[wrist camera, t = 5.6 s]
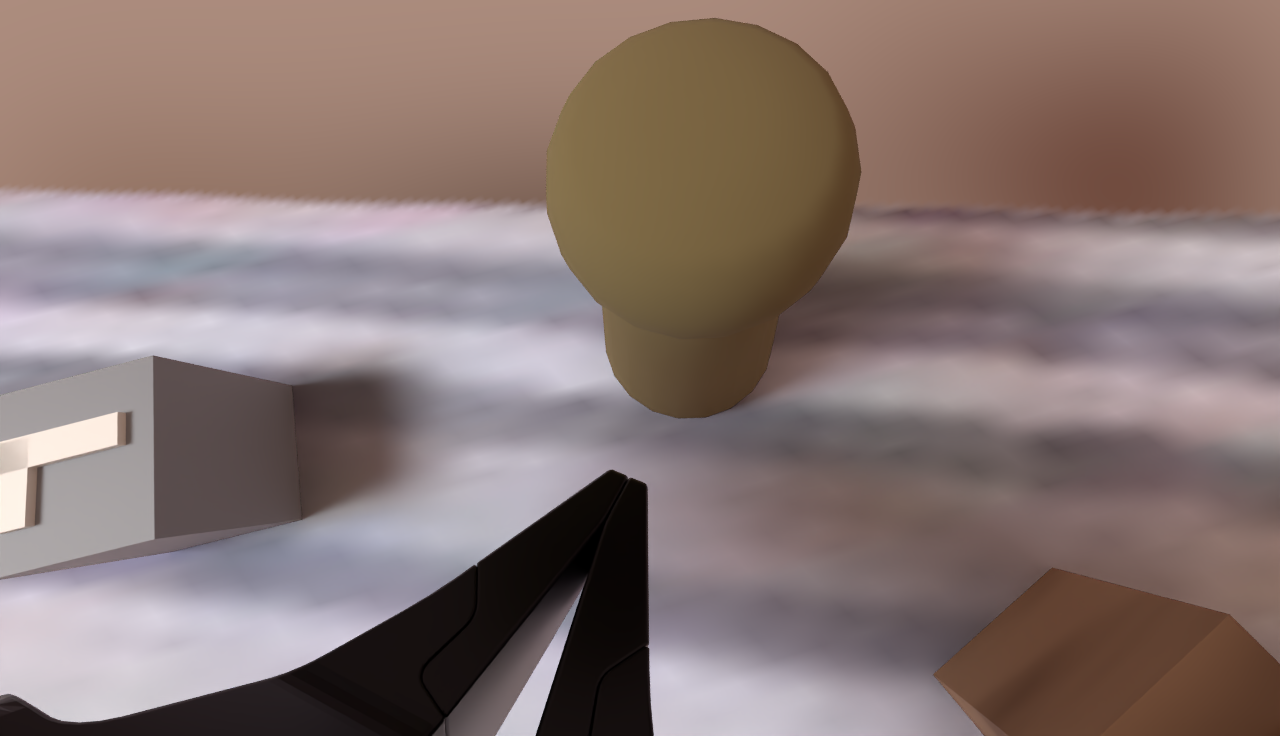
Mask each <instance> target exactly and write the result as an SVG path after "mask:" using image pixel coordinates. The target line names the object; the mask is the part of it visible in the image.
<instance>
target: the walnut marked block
mask: <svg viewBox="0 0 1280 736" xmlns="http://www.w3.org/2000/svg"><path fill="white" fill-rule="evenodd" d="M933 675H934V676H935V677H936V679H937V680H938V681H939V682H940V683H941V685H942V686H943V687H944V688H945V689H946V690H947V692H948V693H949V694H950V695H951V696H952V698H953V699H954V700H955V701H956V702H957V704H958V705H959V706H960V707H961V708H962V710H963V711H964V712H965V713H966V714H967V716H968V717H969V718H970V719H971V720H972V721H973V723H974V724H975V725H976V726H977V727H978V729H979V730H980V731H981V732H982V733H983V735H984V736H1280V664H1279V663H1278V662H1277V661H1276V660H1275V659H1274V658H1273V657H1272V656H1271V655H1270V654H1269V653H1268V652H1267V651H1266V650H1265V649H1264V648H1263V647H1262V646H1261V645H1260V644H1259V643H1258V642H1257V641H1256V640H1255V639H1254V638H1253V637H1252V636H1251V635H1250V634H1249V633H1248V632H1247V631H1246V630H1245V629H1244V628H1243V627H1242V626H1241V625H1240V624H1239V623H1238V622H1237V621H1236V620H1235V619H1234V618H1233V617H1232V616H1230V615H1229V614H1226V613H1222V612H1218V611H1214V610H1211V609H1207V608H1203V607H1199V606H1195V605H1192V604H1188V603H1184V602H1180V601H1176V600H1173V599H1169V598H1165V597H1161V596H1158V595H1154V594H1150V593H1146V592H1142V591H1139V590H1135V589H1131V588H1127V587H1123V586H1120V585H1116V584H1112V583H1108V582H1104V581H1101V580H1097V579H1093V578H1089V577H1086V576H1082V575H1078V574H1074V573H1070V572H1067V571H1063V570H1059V569H1055V568H1051V569H1050V570H1049V571H1048V572H1047V573H1046V574H1045V575H1043V576H1042V577H1041V578H1040V579H1039V580H1038V581H1037V582H1036V583H1035V584H1033V585H1032V586H1031V587H1030V588H1029V589H1028V590H1027V591H1026V592H1024V593H1023V594H1022V595H1021V596H1020V597H1019V598H1018V599H1017V600H1016V601H1014V602H1013V603H1012V604H1011V605H1010V606H1009V607H1008V608H1007V609H1006V610H1004V611H1003V612H1002V613H1001V614H1000V615H999V616H998V617H997V618H996V619H994V620H993V621H992V622H991V623H990V624H989V625H988V626H987V627H986V628H984V629H983V630H982V631H981V632H980V633H979V634H978V635H977V636H975V637H974V638H973V639H972V640H971V641H970V642H969V643H968V644H967V645H965V646H964V647H963V648H962V649H961V650H960V651H959V652H958V653H957V654H955V655H954V656H953V657H952V658H951V659H950V660H949V661H948V662H947V663H945V664H944V665H943V666H942V667H941V668H940V669H939V670H938V671H937V672H935V673H934V674H933Z"/></svg>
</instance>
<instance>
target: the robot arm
mask: <svg viewBox="0 0 1280 736" xmlns="http://www.w3.org/2000/svg"><path fill="white" fill-rule="evenodd" d="M583 586H584V587H583ZM582 588H583V590H582ZM581 590H582V593H581V596H580V599H579V603H578V606H577V609H576V612H575V615H574V618H573V621H572V624H571V627H570V630H569V634H568V637H567V640H566V643H565V646H564V649H563V652H562V655H561V658H560V662H559V665H558V668H557V671H556V674H555V677H554V680H553V683H552V686H551V689H550V693H549V696H548V699H547V702H546V705H545V708H544V711H543V714H542V717H541V720H540V724H539V727H538V730H537V733H536V736H654V733H653V723H652V712H651V698H650V672H649V648H648V645H649V588H648V487H647V485H646V484H645V483H643V482H641V481H638V480H636V479H633V478H629V479H628V477H627V476H626V475H624V474H621V473H619V472H617V471H614V470H609V471H607V472H605V473H604V474H603V475H601V476H600V477H598V478H597V479H596V480H594V481H593V482H591V483H590V484H588V485H587V486H586V487H584V488H583V489H581V490H580V491H578V492H577V493H576V494H574V495H573V496H571V497H570V498H569V499H567V500H566V501H564V502H563V503H561V504H560V505H559V506H557V507H556V508H554V509H553V510H552V511H550V512H549V513H547V514H546V515H544V516H543V517H542V518H540V519H539V520H537V521H536V522H535V523H533V524H532V525H530V526H529V527H527V528H526V529H525V530H523V531H522V532H520V533H519V534H518V535H516V536H515V537H513V538H512V539H510V540H509V541H508V542H506V543H505V544H503V545H502V546H501V547H499V548H498V549H496V550H495V551H493V552H492V553H491V554H489V555H488V556H486V557H485V558H484V559H482V560H481V561H479V562H478V563H477V566H476V565H473V566H472V567H470V568H469V569H468V570H466V571H465V572H463V573H462V574H461V575H459V576H458V577H456V578H455V579H453V580H452V581H450V582H449V583H447V584H446V585H444V586H443V587H441V588H440V589H438V590H437V591H435V592H434V593H432V594H431V595H429V596H427V597H426V598H424V599H422V600H421V601H419V602H417V603H416V604H414V605H412V606H410V607H409V608H407V609H405V610H404V611H402V612H400V613H399V614H397V615H395V616H393V617H391V618H390V619H388V620H386V621H384V622H382V623H381V624H379V625H377V626H375V627H374V628H372V629H370V630H368V631H366V632H365V633H363V634H361V635H359V636H357V637H356V638H354V639H352V640H350V641H349V642H347V643H345V644H343V645H341V646H340V647H338V648H336V649H334V650H333V651H331V652H329V653H327V654H325V655H323V656H322V657H320V658H318V659H316V660H314V661H312V662H310V663H308V664H306V665H304V666H302V667H299V668H297V669H294V670H292V671H289V672H287V673H284V674H281V675H278V676H275V677H272V678H269V679H265V680H261V681H257V682H254V683H250V684H246V685H242V686H238V687H234V688H230V689H227V690H223V691H219V692H215V693H211V694H207V695H203V696H200V697H196V698H192V699H188V700H184V701H180V702H176V703H173V704H169V705H165V706H161V707H157V708H153V709H150V710H146V711H142V712H138V713H134V714H130V715H126V716H122V717H118V718H113V719H108V720H103V721H93V722H81V723H78V722H67V721H61V720H58V719H55V718H52V717H50V716H48V715H47V714H45V713H44V712H42V711H40V710H39V709H37V708H36V707H34V706H32V705H31V704H29V703H27V702H26V701H24V700H22V699H21V698H19V697H17V696H14V695H11V694H6V695H1V696H0V736H495V735H496V734H497V732H498V730H499V729H500V727H501V725H502V724H503V722H504V720H505V718H506V717H507V715H508V713H509V712H510V710H511V708H512V707H513V705H514V703H515V702H516V700H517V698H518V696H519V695H520V693H521V691H522V690H523V688H524V686H525V685H526V683H527V681H528V680H529V678H530V676H531V674H532V673H533V671H534V669H535V668H536V666H537V664H538V663H539V661H540V659H541V658H542V656H543V654H544V652H545V651H546V649H547V647H548V646H549V644H550V642H551V641H552V639H553V637H554V636H555V634H556V632H557V630H558V629H559V627H560V625H561V624H562V622H563V620H564V619H565V617H566V615H567V614H568V612H569V610H570V608H571V607H572V605H573V603H574V602H575V600H576V598H577V597H578V595H579V593H580V592H581Z"/></svg>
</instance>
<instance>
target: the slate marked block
mask: <svg viewBox="0 0 1280 736" xmlns="http://www.w3.org/2000/svg"><path fill="white" fill-rule="evenodd" d="M299 520H302V513H301V499H300V486H299V472H298V458H297V445H296V431H295V418H294V404H293V391H292V386H291V385H287V384H282V383H277V382H273V381H268V380H264V379H259V378H254V377H250V376H245V375H240V374H236V373H231V372H227V371H222V370H217V369H213V368H208V367H204V366H199V365H194V364H190V363H185V362H180V361H176V360H171V359H167V358H162V357H157V356H149V357H146V358H142V359H138V360H134V361H130V362H126V363H122V364H119V365H115V366H111V367H107V368H103V369H99V370H95V371H92V372H88V373H84V374H80V375H76V376H72V377H68V378H65V379H61V380H57V381H53V382H49V383H45V384H42V385H38V386H34V387H30V388H26V389H22V390H18V391H15V392H11V393H7V394H3V395H0V580H1V579H8V578H14V577H20V576H26V575H32V574H38V573H45V572H51V571H57V570H63V569H69V568H76V567H82V566H88V565H94V564H100V563H106V562H113V561H119V560H125V559H131V558H137V557H144V556H150V555H156V554H162V553H168V552H173V551H177V550H181V549H185V548H189V547H193V546H197V545H201V544H205V543H209V542H213V541H218V540H222V539H226V538H230V537H234V536H238V535H242V534H246V533H250V532H254V531H258V530H262V529H266V528H270V527H274V526H278V525H283V524H287V523H291V522H295V521H299Z"/></svg>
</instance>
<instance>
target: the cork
mask: <svg viewBox="0 0 1280 736" xmlns="http://www.w3.org/2000/svg"><path fill="white" fill-rule="evenodd" d="M860 176H861V166H860V159H859V152H858V144H857V138H856V130H855V126H854V123H853V121H852V118H851V116H850V114H849V111H848V109H847V107H846V105H845V103H844V101H843V99H842V98H841V96H840V94H839V92H838V90H837V88H836V87H835V85H834V83H833V81H832V79H831V77H830V76H829V73H828V72H827V71H826V70H825V69H824V68H823V67H822V66H820V65H819V64H818V63H817V62H816V61H815V60H814V59H813V58H812V57H811V56H810V55H809V54H807V53H806V52H805V51H804V50H803V49H802V48H801V47H800V46H799V45H798V44H796V43H794V42H792V41H790V40H788V39H786V38H784V37H782V36H779V35H777V34H775V33H773V32H771V31H768V30H767V29H764V28H762V27H760V26H758V25H753V24H747V23H741V22H735V21H729V20H723V19H717V18H710V19H699V20H689V21H678V22H670V23H667V24H665V25H662V26H659V27H656V28H654V29H651V30H648V31H646V32H643V33H640V34H638V35H635V36H632V37H630V38H628V39H627V40H625V41H624V42H623V43H621V44H620V45H618V46H617V47H616V48H614V49H613V50H611V51H610V52H609V53H607V54H606V55H604V56H603V57H602V58H600V59H599V60H597V61H596V62H595V63H594V64H593V66H592V67H591V68H590V69H589V71H588V72H587V74H586V75H585V76H584V77H583V78H582V80H581V81H580V82H579V83H578V85H577V86H576V87H575V89H574V90H573V91H572V93H571V94H570V96H569V97H568V99H567V101H566V103H565V105H564V107H563V109H562V111H561V114H560V116H559V119H558V122H557V124H556V127H555V130H554V133H553V135H552V138H551V141H550V144H549V146H548V149H547V166H546V201H547V214H548V217H549V220H550V223H551V226H552V229H553V232H554V235H555V237H556V240H557V243H558V246H559V249H560V252H561V255H562V256H563V258H564V260H565V262H566V263H567V265H568V267H569V268H570V270H571V271H572V272H573V273H574V275H575V276H576V277H577V278H578V280H579V281H580V282H581V283H582V285H583V286H584V287H585V288H586V290H587V291H588V292H589V293H590V295H591V296H592V297H593V298H594V300H595V301H596V302H597V303H599V304H600V305H602V310H603V322H604V333H605V345H606V353H607V356H608V359H609V362H610V364H611V367H612V370H613V373H614V376H615V377H616V378H617V380H618V381H619V382H620V384H621V385H622V386H623V387H624V389H625V390H626V391H627V393H628V394H629V395H630V396H631V397H632V398H634V399H635V400H637V401H638V402H640V403H641V404H643V405H644V406H646V407H647V408H649V409H650V410H652V411H654V412H658V413H661V414H665V415H668V416H672V417H675V418H703V417H708V416H711V415H713V414H716V413H719V412H722V411H724V410H727V409H730V408H732V407H733V406H734V405H736V404H737V403H738V402H739V401H741V400H742V399H743V398H744V397H746V396H747V395H748V394H749V393H751V392H752V391H753V389H754V388H755V386H756V385H757V383H758V382H759V380H760V378H761V377H762V375H763V374H764V372H765V371H766V369H767V365H768V361H769V357H770V353H771V349H772V345H773V341H774V336H775V331H776V327H777V322H778V318H779V315H780V314H781V313H782V312H784V311H785V310H786V309H787V308H789V307H790V306H791V305H793V304H794V303H795V302H796V301H798V300H799V299H800V298H802V297H803V296H804V295H805V294H807V293H808V292H809V291H810V290H811V289H812V288H813V287H814V285H815V284H816V283H817V281H818V280H819V279H820V278H821V276H822V275H823V273H824V272H825V270H826V268H827V267H828V265H829V264H830V262H831V261H832V259H833V258H834V256H835V255H836V253H837V252H838V250H839V249H840V247H841V245H842V244H843V242H844V241H845V239H846V238H847V235H848V230H849V226H850V222H851V217H852V213H853V209H854V204H855V200H856V196H857V191H858V185H859V181H860Z"/></svg>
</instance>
